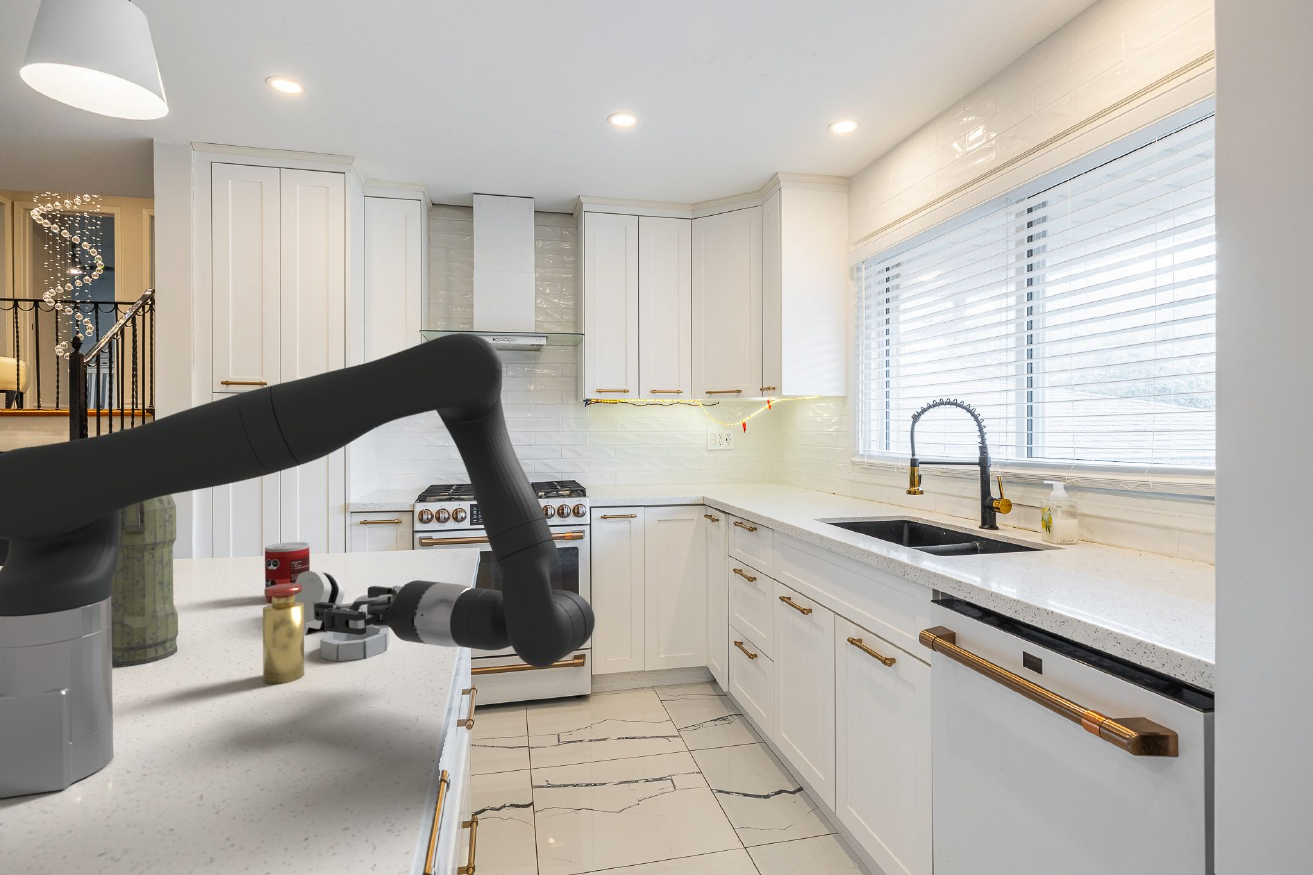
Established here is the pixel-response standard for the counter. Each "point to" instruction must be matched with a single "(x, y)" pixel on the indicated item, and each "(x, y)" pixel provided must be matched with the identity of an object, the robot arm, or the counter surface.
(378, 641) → the grey octagonal holder
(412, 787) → the counter surface
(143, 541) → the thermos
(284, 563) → the canned food
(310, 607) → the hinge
